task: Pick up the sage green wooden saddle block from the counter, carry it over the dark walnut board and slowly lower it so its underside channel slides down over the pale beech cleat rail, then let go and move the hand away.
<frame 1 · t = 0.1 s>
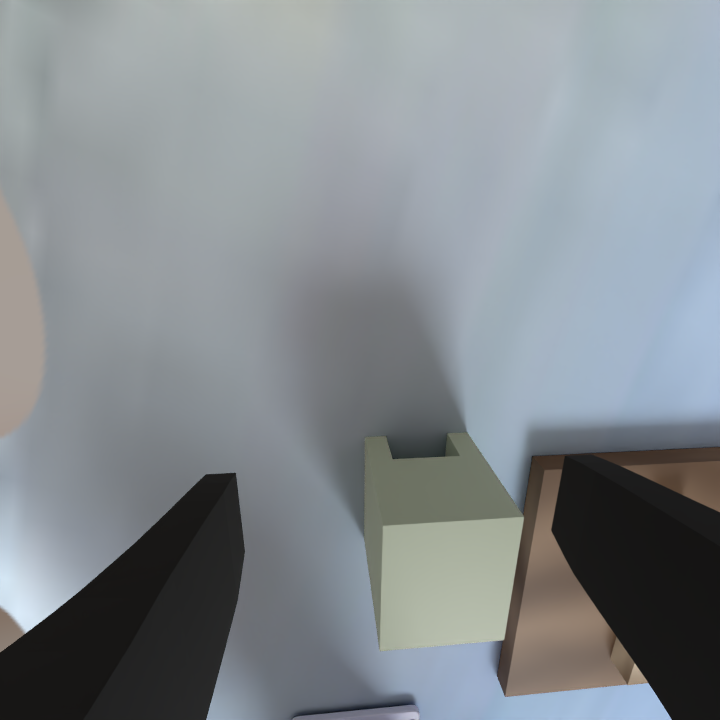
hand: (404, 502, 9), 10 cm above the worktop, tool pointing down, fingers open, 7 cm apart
cleat board: (628, 569, 24), on the worktop
saddle block: (413, 487, 21), on the worktop
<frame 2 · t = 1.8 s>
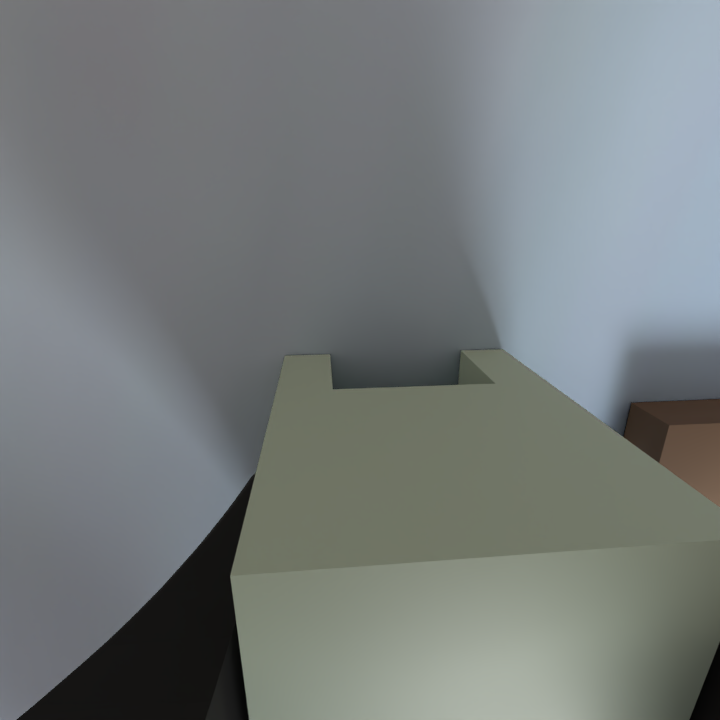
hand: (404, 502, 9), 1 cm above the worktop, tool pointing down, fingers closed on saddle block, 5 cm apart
saddle block: (392, 466, 10), on the worktop, touching gripper
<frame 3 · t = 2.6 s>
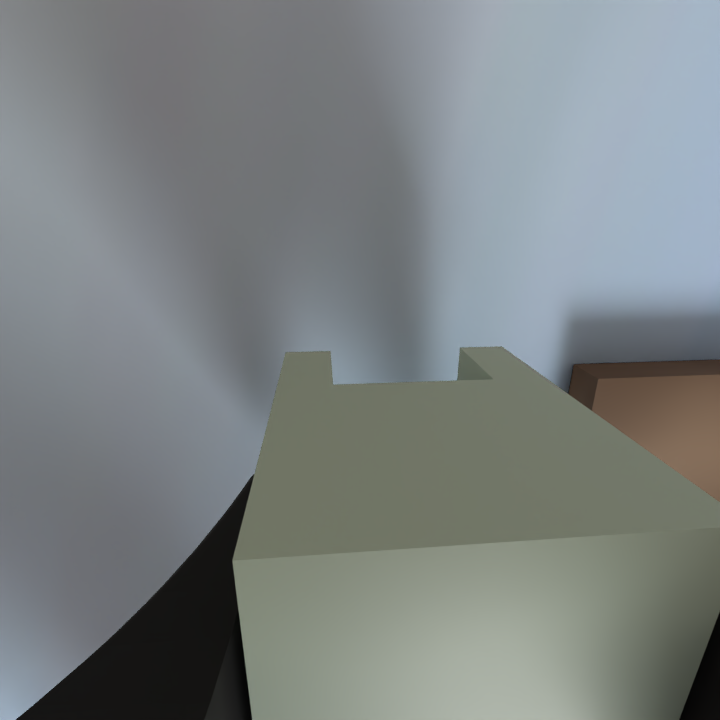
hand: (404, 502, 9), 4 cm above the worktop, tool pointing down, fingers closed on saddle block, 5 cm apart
cleat board: (710, 553, 16), on the worktop
saddle block: (392, 462, 11), point 2 cm above the worktop, touching gripper
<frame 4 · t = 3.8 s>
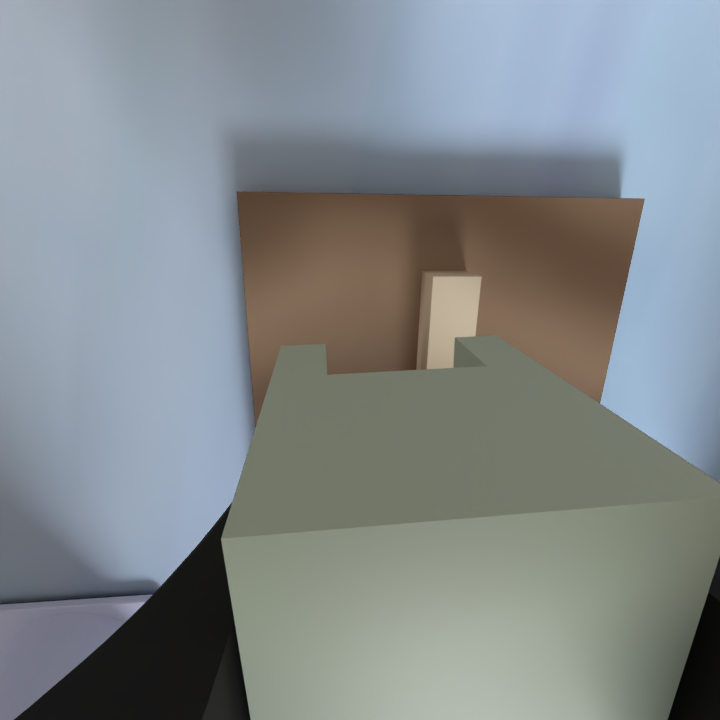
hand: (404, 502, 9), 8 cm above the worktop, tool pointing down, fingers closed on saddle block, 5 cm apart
cleat board: (426, 398, 18), on the worktop
saddle block: (391, 454, 11), point 7 cm above the worktop, touching gripper
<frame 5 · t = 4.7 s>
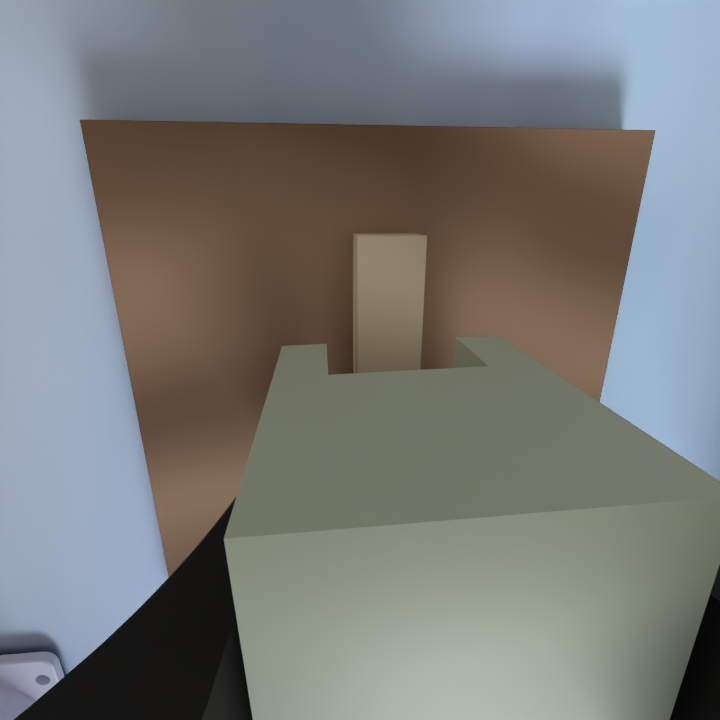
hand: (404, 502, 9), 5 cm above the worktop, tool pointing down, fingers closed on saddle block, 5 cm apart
cleat board: (374, 405, 14), on the worktop
saddle block: (391, 454, 11), point 3 cm above the worktop, touching gripper
when the fingers open (3 cm above the worktop, at t = 5.7 s): saddle block stays where it is, resting on cleat board.
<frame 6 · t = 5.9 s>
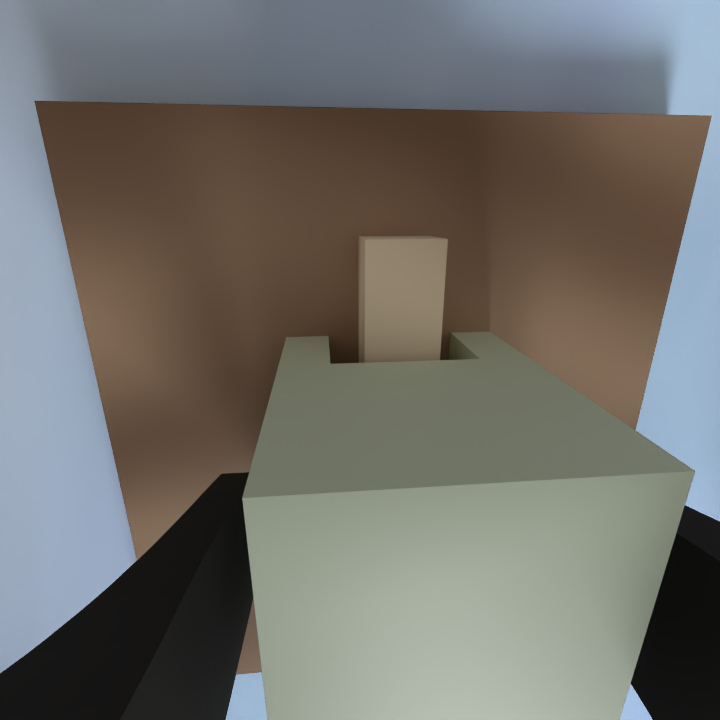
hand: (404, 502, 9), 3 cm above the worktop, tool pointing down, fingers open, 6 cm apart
cleat board: (382, 428, 12), on the worktop
saddle block: (387, 442, 11), point 1 cm above the worktop, touching cleat board
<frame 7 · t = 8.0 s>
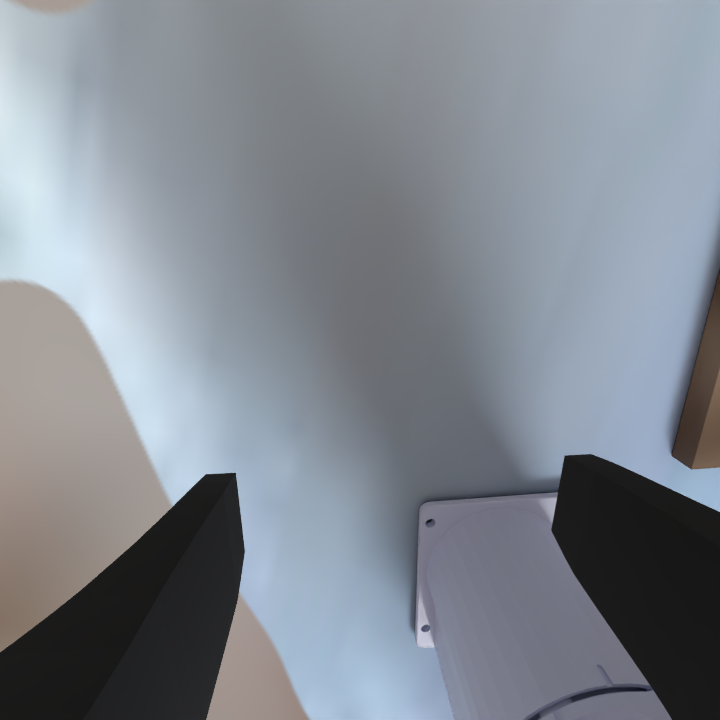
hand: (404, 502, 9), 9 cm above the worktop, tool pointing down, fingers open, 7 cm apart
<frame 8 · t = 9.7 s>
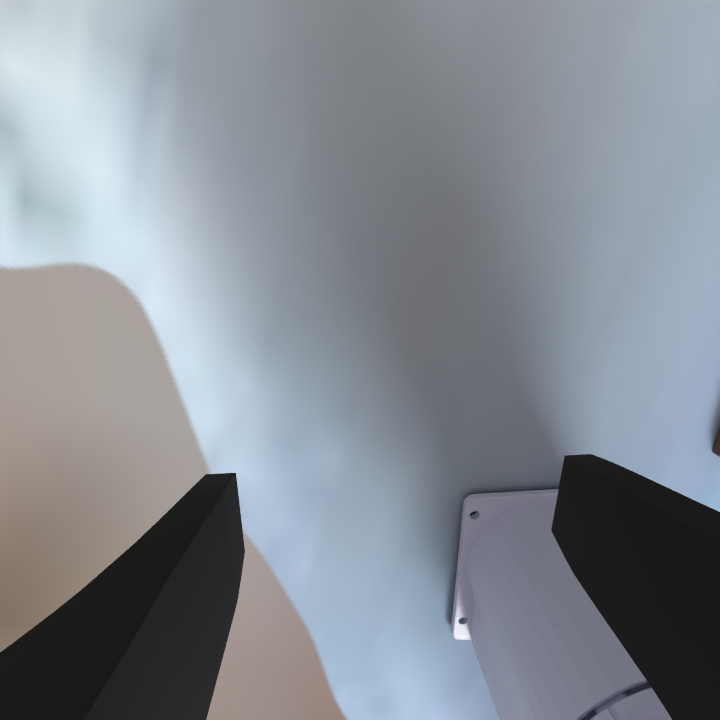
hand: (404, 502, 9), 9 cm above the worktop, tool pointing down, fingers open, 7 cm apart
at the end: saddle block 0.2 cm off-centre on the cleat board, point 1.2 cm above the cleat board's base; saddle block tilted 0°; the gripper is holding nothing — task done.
